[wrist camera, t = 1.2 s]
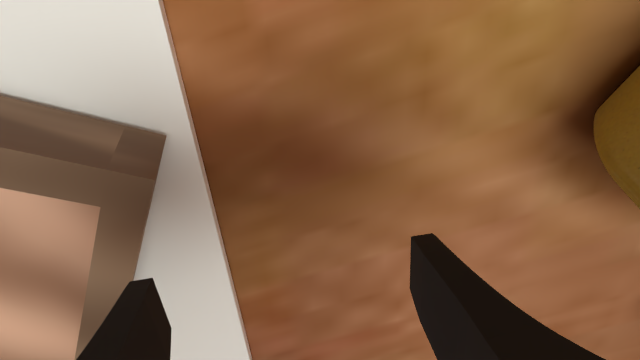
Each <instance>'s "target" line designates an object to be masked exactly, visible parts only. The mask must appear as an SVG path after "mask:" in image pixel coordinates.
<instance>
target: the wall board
mask: <svg viewBox="0 0 640 360" xmlns="http://www.w3.org/2000/svg"><path fill="white" fill-rule="evenodd" d="M0 95H1V96H5V97H9V98H13V99H17V100H21V101H26V102H30V103H34V104H38V105H42V106H46V107H51V108H55V109H59V110H63V111H67V112H71V113H75V114H80V115H84V116H88V117H92V118H96V119H100V120H105V121H109V122H113V123H117V124H121V125H125V126H129V127H134V128H138V129H142V130H146V131H150V132H154V133H158V134H163V135H167V136H166V140H165V145H164V149H163V154H162V158H161V162H160V167H159V171H158V175H157V180H156V184H155V188H154V193H153V197H152V202H151V206H150V210H149V215H148V219H147V223H146V228H145V232H144V236H143V241H142V245H141V250H140V254H139V258H138V263H137V267H136V271H135V276H134V280H133V281H135V280H142V279H148V278H153V280H154V283H155V285H156V288H157V291H158V293H159V296H160V299H161V301H162V304H163V307H164V309H165V312H166V315H167V318H168V320H169V323H170V326H171V328H172V329H171V354H170V360H252V356H251V352H250V348H249V344H248V340H247V336H246V332H245V328H244V324H243V320H242V316H241V312H240V308H239V304H238V300H237V296H236V292H235V288H234V284H233V280H232V276H231V272H230V268H229V264H228V260H227V256H226V252H225V248H224V244H223V240H222V236H221V232H220V228H219V224H218V220H217V216H216V212H215V208H214V204H213V200H212V196H211V192H210V188H209V184H208V180H207V176H206V172H205V168H204V164H203V160H202V156H201V152H200V148H199V144H198V140H197V136H196V132H195V128H194V124H193V120H192V116H191V112H190V108H189V104H188V100H187V96H186V92H185V88H184V84H183V80H182V76H181V72H180V68H179V64H178V60H177V56H176V52H175V48H174V44H173V40H172V36H171V32H170V28H169V24H168V20H167V16H166V12H165V8H164V4H163V0H0Z"/></svg>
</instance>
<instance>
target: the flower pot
mask: <svg viewBox="0 0 640 360" xmlns="http://www.w3.org/2000/svg"><path fill="white" fill-rule="evenodd" d="M594 139H595V144H596V148H597V151H598V154H599V156H600V159H601V161H602V163H603V165H604V166H605V168H606V170H607V171H608V173H609V174H610V176H611V177H612V178H613V180H614V181H615V182H616V183H617V184H618V185H619V187H620V188H621V189H622V190H623V191H624V192H625V193H626V194H627V195H628V197H629V198H630V199H631V200H632V201H633V202H634V203H635V204H636V205H637V206H638V207H639V209H640V66H639V67H638V68H637V69H636V70H635V71H634V72H633V73H632V74H631V75H630V76H629V77H628V78H627V79H626V80H625V81H624V83H623V84H622V85H621V86H620V87H619V88H618V89H617V90H616V91H615V92H614V93H613V94H612V95H611V96H610V97H609V98H608V99H607V100H606V101H605V102H604V103H603V104H602V105H601V106H600V107H599V108H598V110H597V111H596V114H595V116H594Z"/></svg>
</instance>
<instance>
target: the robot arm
mask: <svg viewBox="0 0 640 360" xmlns="http://www.w3.org/2000/svg"><path fill="white" fill-rule="evenodd" d="M410 290H411V294H412V297H413V300H414V304H415V307H416V310H417V313H418V316H419V319H420V322H421V324H422V326H423V329H424V331H425V333H426V335H427V338H428V340H429V342H430V344H431V347H432V349H433V351H434V353H435V355H436V357H437V360H605V359H603V358H601V357H599V356H597V355H595V354H594V353H592V352H590V351H588V350H586V349H584V348H582V347H580V346H579V345H577V344H575V343H573V342H572V341H570V340H568V339H566V338H564V337H563V336H561V335H559V334H557V333H556V332H554V331H552V330H551V329H549V328H548V327H546V326H544V325H543V324H541V323H540V322H538V321H537V320H535V319H534V318H532V317H531V316H529V315H528V314H526V313H525V312H524V311H522V310H521V309H519V308H518V307H517V306H515V305H514V304H513V303H511V302H510V301H509V300H507V299H506V298H505V297H504V296H502V295H501V294H500V293H498V292H497V291H496V290H495V289H493V288H492V287H491V286H490V285H489V284H487V283H486V282H485V281H484V280H483V279H482V278H480V277H479V276H478V275H477V274H476V273H475V272H473V271H472V270H471V269H470V268H469V267H468V266H467V265H466V264H464V263H463V262H462V261H461V260H460V259H459V258H458V257H457V256H456V255H455V254H454V253H453V252H452V251H451V250H450V249H449V248H447V247H446V246H445V245H444V244H443V243H442V242H441V241H440V240H439V239H438V238H437V237H436V236H435V235H434V234H432V233H431V234H425V235H419V236H412V237H411V264H410ZM171 329H172V328H171V326H170V323H169V320H168V318H167V315H166V312H165V309H164V307H163V304H162V301H161V299H160V296H159V293H158V291H157V288H156V285H155V283H154V280H153V278H148V279H142V280H135V281H130V282H129V283H128V284H127V286H126V287H125V289H124V290H123V292H122V293H121V295H120V296H119V298H118V300H117V301H116V303H115V304H114V306H113V307H112V309H111V310H110V312H109V313H108V315H107V316H106V318H105V319H104V321H103V322H102V324H101V325H100V327H99V328H98V330H97V331H96V333H95V334H94V335H93V337H92V338H91V340H90V341H89V343H88V344H87V345H86V347H85V348H84V350H83V351H82V352H81V354H80V355H79V356H78V358H77V359H76V360H170V354H171Z"/></svg>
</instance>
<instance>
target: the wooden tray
mask: <svg viewBox="0 0 640 360" xmlns="http://www.w3.org/2000/svg"><path fill="white" fill-rule="evenodd" d="M166 136H167V135H163V134H158V133H154V132H150V131H146V130H142V129H138V128H134V127H129V126H125V125H121V124H117V123H113V122H109V121H105V120H100V119H96V118H92V117H88V116H84V115H80V114H75V113H71V112H67V111H63V110H59V109H55V108H51V107H46V106H42V105H38V104H34V103H30V102H26V101H21V100H17V99H13V98H9V97H5V96H1V95H0V360H76V359H77V358H78V356H79V355H80V354H81V352H82V351H83V350H84V348H85V347H86V345H87V344H88V343H89V341H90V340H91V338H92V337H93V335H94V334H95V333H96V331H97V330H98V328H99V327H100V325H101V324H102V322H103V321H104V319H105V318H106V316H107V315H108V313H109V312H110V310H111V309H112V307H113V306H114V304H115V303H116V301H117V300H118V298H119V296H120V295H121V293H122V292H123V290H124V289H125V287H126V286H127V284H128V283H129V282H130V281H133V280H134V276H135V271H136V267H137V263H138V258H139V254H140V250H141V245H142V241H143V236H144V232H145V228H146V223H147V219H148V215H149V210H150V206H151V202H152V197H153V193H154V188H155V184H156V180H157V175H158V171H159V167H160V162H161V158H162V154H163V149H164V145H165V140H166Z"/></svg>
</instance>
